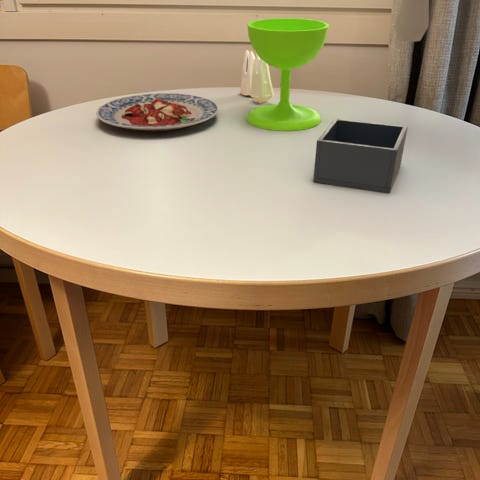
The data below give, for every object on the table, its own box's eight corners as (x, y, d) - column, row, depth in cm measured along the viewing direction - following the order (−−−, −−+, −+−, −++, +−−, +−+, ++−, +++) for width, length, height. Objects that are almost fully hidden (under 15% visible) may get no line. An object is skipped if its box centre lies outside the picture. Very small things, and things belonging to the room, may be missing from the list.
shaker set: (274, 104, 123) (276, 52, 116) (258, 106, 122) (259, 53, 115) (254, 92, 132) (255, 42, 125) (238, 93, 131) (238, 43, 124)
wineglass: (332, 115, 116) (342, 22, 105) (301, 135, 105) (307, 34, 94) (268, 104, 123) (271, 16, 112) (232, 122, 112) (231, 26, 101)
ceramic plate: (75, 118, 114) (72, 104, 113) (171, 97, 128) (170, 84, 126) (142, 148, 99) (140, 132, 97) (243, 120, 113) (243, 106, 111)
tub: (400, 165, 92) (407, 126, 88) (389, 193, 83) (397, 150, 79) (330, 156, 96) (334, 118, 92) (313, 182, 87) (316, 140, 82)
